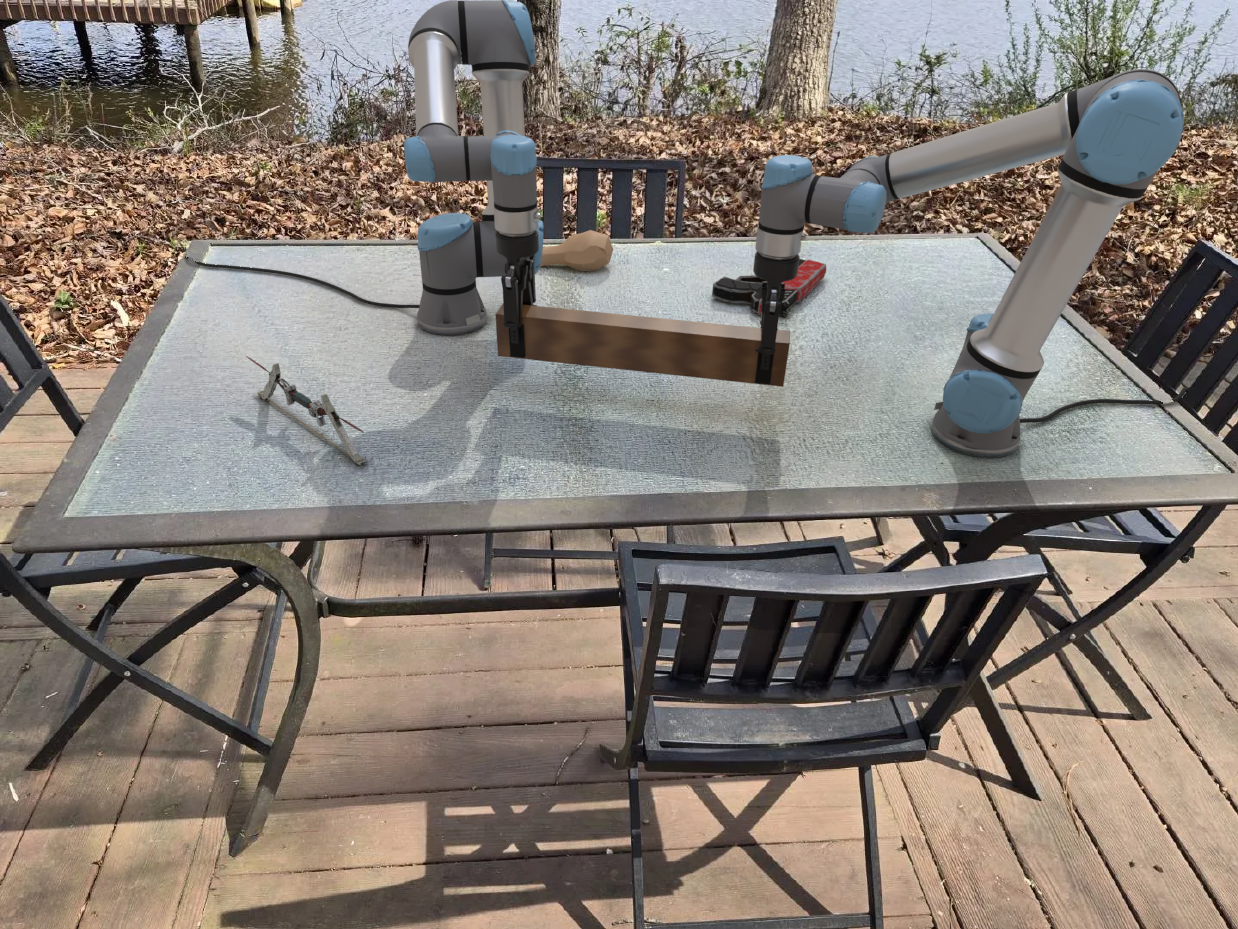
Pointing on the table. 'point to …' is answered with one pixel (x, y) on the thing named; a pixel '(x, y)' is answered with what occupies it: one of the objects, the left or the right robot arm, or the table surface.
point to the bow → (311, 409)
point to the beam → (644, 344)
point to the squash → (580, 252)
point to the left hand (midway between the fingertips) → (522, 349)
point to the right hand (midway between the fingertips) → (762, 374)
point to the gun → (750, 286)
